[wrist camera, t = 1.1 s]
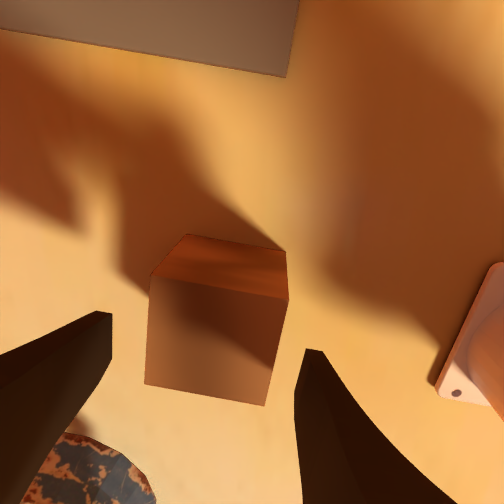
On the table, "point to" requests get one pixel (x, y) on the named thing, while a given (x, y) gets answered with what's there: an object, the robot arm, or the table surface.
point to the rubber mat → (169, 28)
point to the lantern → (87, 476)
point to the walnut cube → (216, 319)
